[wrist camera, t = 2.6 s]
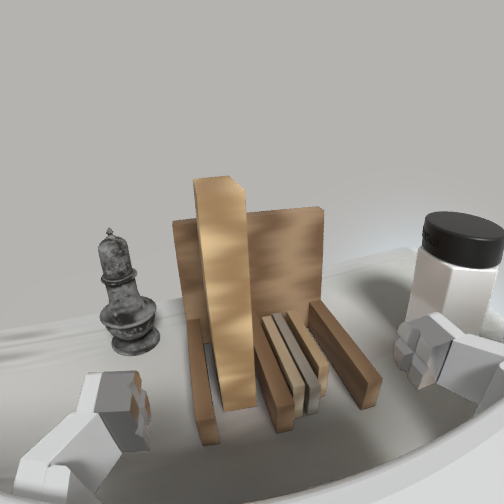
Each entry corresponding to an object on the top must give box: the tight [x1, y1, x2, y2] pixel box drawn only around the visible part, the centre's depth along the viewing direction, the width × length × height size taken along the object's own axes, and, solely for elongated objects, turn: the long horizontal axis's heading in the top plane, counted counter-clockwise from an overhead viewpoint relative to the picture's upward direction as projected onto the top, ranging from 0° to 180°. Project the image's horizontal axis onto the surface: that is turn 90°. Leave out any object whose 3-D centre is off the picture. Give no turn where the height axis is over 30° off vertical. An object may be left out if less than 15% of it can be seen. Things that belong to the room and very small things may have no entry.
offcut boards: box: [262, 309, 329, 418], centre depth 25 cm, size 3×10×4 cm, turn 12°
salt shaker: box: [98, 228, 160, 356], centre depth 28 cm, size 6×6×12 cm
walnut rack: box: [172, 207, 383, 446], centre depth 24 cm, size 13×13×12 cm
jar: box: [405, 212, 504, 336], centre depth 25 cm, size 9×8×12 cm
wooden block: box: [193, 176, 257, 412], centre depth 22 cm, size 2×6×16 cm, turn 12°
